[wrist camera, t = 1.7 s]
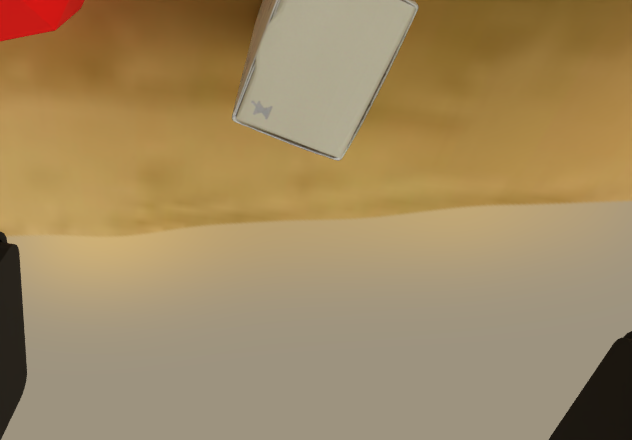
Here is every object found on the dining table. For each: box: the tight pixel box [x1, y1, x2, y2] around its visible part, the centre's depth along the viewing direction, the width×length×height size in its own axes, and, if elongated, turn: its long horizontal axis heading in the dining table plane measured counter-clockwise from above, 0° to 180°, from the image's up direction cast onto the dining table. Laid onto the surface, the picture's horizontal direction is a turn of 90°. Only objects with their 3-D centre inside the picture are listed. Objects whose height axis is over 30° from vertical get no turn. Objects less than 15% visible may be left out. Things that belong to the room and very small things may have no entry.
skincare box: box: [232, 0, 418, 161], centre depth 25 cm, size 6×4×12 cm
